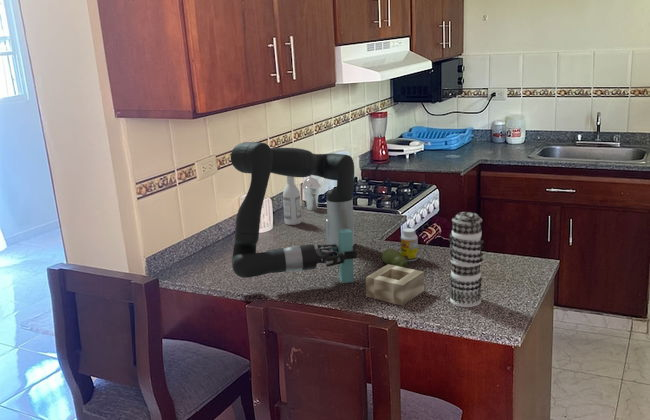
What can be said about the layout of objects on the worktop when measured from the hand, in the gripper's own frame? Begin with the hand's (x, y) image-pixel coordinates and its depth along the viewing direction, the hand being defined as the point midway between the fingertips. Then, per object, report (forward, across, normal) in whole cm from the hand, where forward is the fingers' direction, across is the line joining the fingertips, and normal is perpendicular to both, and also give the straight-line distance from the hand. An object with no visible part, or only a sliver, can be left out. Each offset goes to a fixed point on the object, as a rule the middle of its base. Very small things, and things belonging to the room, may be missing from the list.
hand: (354, 251), depth 187 cm
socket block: (+8, -14, +9) cm, 19 cm away
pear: (+15, +7, +9) cm, 19 cm away
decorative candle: (+25, -25, +9) cm, 37 cm away
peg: (-3, 0, +9) cm, 9 cm away
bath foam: (-8, +67, +9) cm, 68 cm away
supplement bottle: (+22, +11, +9) cm, 26 cm away
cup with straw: (+3, +86, +9) cm, 87 cm away
